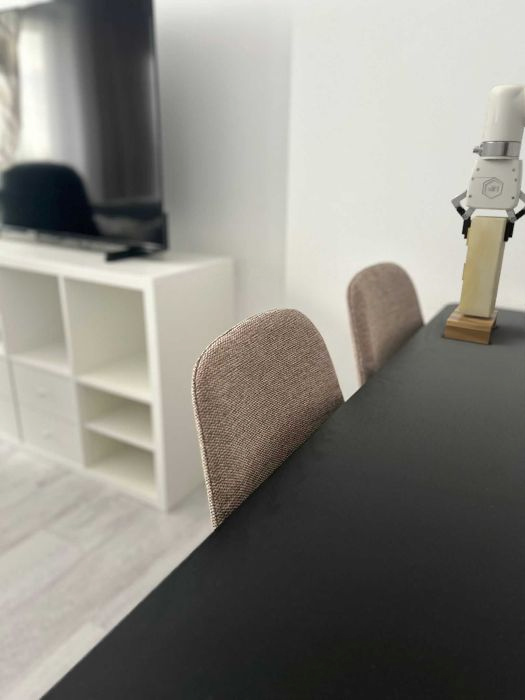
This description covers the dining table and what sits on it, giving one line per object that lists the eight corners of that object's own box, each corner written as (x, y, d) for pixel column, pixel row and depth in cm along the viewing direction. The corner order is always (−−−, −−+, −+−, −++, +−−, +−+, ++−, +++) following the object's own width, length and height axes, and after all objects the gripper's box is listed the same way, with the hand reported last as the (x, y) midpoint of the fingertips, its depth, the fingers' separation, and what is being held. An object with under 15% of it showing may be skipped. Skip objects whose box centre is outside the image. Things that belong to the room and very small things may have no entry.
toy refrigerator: (461, 306, 121) (475, 214, 114) (494, 310, 118) (511, 216, 111) (454, 313, 115) (468, 216, 108) (489, 318, 111) (506, 219, 104)
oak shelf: (456, 320, 127) (458, 305, 125) (495, 326, 122) (498, 310, 121) (444, 337, 113) (446, 320, 112) (487, 344, 109) (491, 326, 108)
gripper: (452, 151, 106) (441, 238, 112) (547, 151, 98) (529, 244, 104) (458, 153, 112) (447, 235, 118) (547, 153, 104) (531, 241, 110)
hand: (486, 239), depth 111 cm, fingers closed on toy refrigerator, 7 cm apart
